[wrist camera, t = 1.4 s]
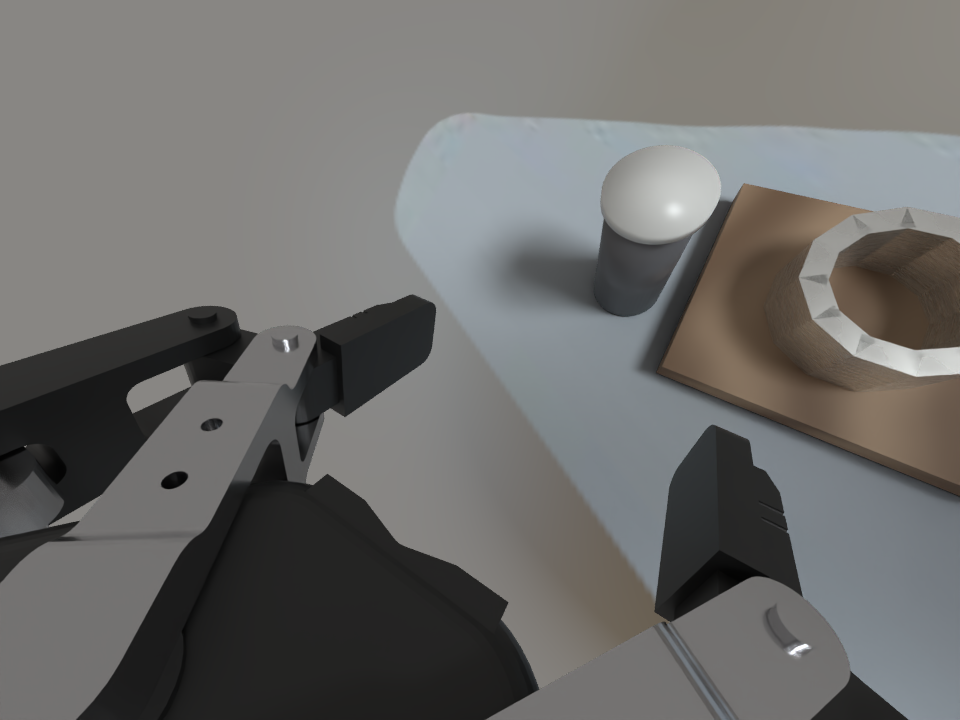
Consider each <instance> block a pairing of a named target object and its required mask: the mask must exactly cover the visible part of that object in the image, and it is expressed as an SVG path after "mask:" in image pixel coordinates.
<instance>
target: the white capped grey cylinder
mask: <svg viewBox="0 0 960 720" xmlns="http://www.w3.org/2000/svg"><path fill="white" fill-rule="evenodd" d="M720 193H721V182H720V178H719V175H718V173H717V171H716V169H715V167H714V166H713V165H712V164H711V163H710V162H709V161H708V160H707V159H706V158H705V157H703V156H702V155H700V154H699V153H697V152H695V151H692V150H690V149H687V148H683V147H679V146H670V145H661V146H652V147H647V148H643V149H640V150H637V151H635V152H633V153H631V154H629V155H627V156H625V157H624V158H622V159H621V160H620V161H618V162H617V163H616V164H615V165H614V166H613V167H612V169H611V170H610V171H609V173H608V174H607V176H606V178H605V180H604V182H603V186H602V192H601V201H600V204H601V211H602V215H603V217H604V222H603V229H602V235H601V242H600V248H599V255H598V261H597V268H596V275H595V281H594V294H595V297H596V299H597V301H598V303H599V304H600V305H601V306H602V307H603V308H604V309H605V310H607V311H609V312H611V313H613V314H616V315H620V316H633V315H638V314H641V313H643V312H645V311H647V310H648V309H649V308H651V307H652V306H653V305H654V304H655V302H656V301H657V299H658V297H659V295H660V293H661V292H662V290H663V288H664V286H665V284H666V282H667V280H668V279H669V277H670V275H671V273H672V271H673V269H674V268H675V266H676V264H677V262H678V260H679V258H680V257H681V255H682V253H683V251H684V249H685V247H686V245H687V244H688V242H689V240H690V238H691V236H692V234H693V233H695V232H696V231H698V230H699V229H700V228H701V227H702V226H703V225H704V224H705V223H706V222H707V220H708V219H709V218H710V216H711V214H712V212H713V211H714V209H715V207H716V205H717V204H718V201H719V198H720Z"/></svg>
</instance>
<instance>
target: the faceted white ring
mask: <svg viewBox="0 0 960 720" xmlns="http://www.w3.org/2000/svg"><path fill="white" fill-rule="evenodd" d="M848 266H858V267H862V268H865V269H869V270H873V271H877V272H881V273H884V274H888V275H891V276H892V277H893V278H895V279H896V280H897V281H898V282H900V283H901V284H902V285H904V286H905V287H906V288H908V289H909V290H910V291H912V292H913V293H914V294H916V295H917V296H918V298H919V301H920V303H921V306H922V308H923V310H924V313H925V315H926V317H927V320H928V322H929V326H928V329H927V332H926V335H925V338H924V341H923V344H922V347H921V350H912V349H909V348H906V347H902V346H899V345H896V344H893V343H890V342H886V341H883V340H880V339H877V338H874V337H870V336H869V335H868V334H867V333H866V332H864V331H863V330H862V329H861V328H860V327H858V326H857V325H856V324H855V323H854V322H852V321H851V320H850V319H849V318H848V317H847V316H845V315H844V314H843V313H842V312H841V311H839V308H838V305H837V302H836V300H835V297H834V294H833V291H832V288H831V285H830V282H829V277H830V275H831V272H832V270H833V268H840V267H848ZM763 308H764V311H765V315H766V318H767V322H768V325H769V329H770V333H771V336H772V340H773V343H774V344H775V345H776V346H777V347H778V348H779V349H781V350H782V351H783V352H784V353H785V354H786V355H787V356H788V357H789V358H790V359H791V360H792V361H793V362H794V363H795V364H796V365H797V366H798V367H799V368H800V369H801V370H803V371H804V372H805V373H806V374H807V375H810V376H813V377H815V378H818V379H821V380H824V381H826V382H829V383H832V384H835V385H838V386H840V387H843V388H846V389H849V390H852V391H854V392H869V391H886V390H904V389H912V388H917V387H921V386H925V385H930V384H934V383H938V382H943V381H947V380H952V379H956V378H960V218H958V217H953V216H949V215H944V214H939V213H934V212H929V211H925V210H920V209H915V208H910V207H903V208H896V209H889V210H882V211H875V212H868V213H861V214H855V215H851V216H850V217H848V218H847V219H845V220H844V221H842V222H841V223H839V224H838V225H836V226H834V227H833V228H831V229H830V230H828V231H827V232H825V233H824V234H822V235H821V236H819V237H818V238H816V239H815V240H813V241H812V242H811V243H810V244H809V245H808V246H807V247H806V248H804V249H803V250H802V251H801V252H800V253H799V254H798V255H797V256H796V257H795V258H794V259H793V260H791V261H790V262H789V263H788V264H787V265H786V266H785V267H784V268H783V269H782V270H781V271H779V272H778V273H777V274H776V276H775V279H774V281H773V284H772V286H771V289H770V291H769V293H768V296H767V298H766V301H765V303H764V306H763Z"/></svg>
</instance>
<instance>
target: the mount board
mask: <svg viewBox="0 0 960 720" xmlns="http://www.w3.org/2000/svg"><path fill="white" fill-rule="evenodd" d="M868 212H874V211H869V210H864V209H860V208H855V207H851V206H846V205H841V204H837V203H832V202H828V201H823V200H818V199H814V198H809V197H805V196H800V195H795V194H791V193H786V192H782V191H777V190H772V189H768V188H763V187H759V186H754V185H749V184H745V183H744V184H743V186H742V187H741V189H740V190H739V192H738V194H737V195H736V197H735V198H734V200H733V203H732V205H731V207H730V209H729V211H728V214H727V216H726V218H725V220H724V223H723V225H722V227H721V229H720V231H719V234H718V236H717V238H716V240H715V243H714V245H713V247H712V249H711V252H710V254H709V256H708V258H707V260H706V263H705V265H704V267H703V269H702V272H701V274H700V276H699V278H698V280H697V283H696V285H695V287H694V289H693V292H692V294H691V296H690V298H689V300H688V303H687V305H686V307H685V309H684V312H683V314H682V316H681V318H680V320H679V323H678V325H677V327H676V329H675V332H674V334H673V336H672V338H671V340H670V343H669V345H668V347H667V349H666V352H665V354H664V356H663V358H662V360H661V363H660V365H659V367H658V369H657V372H656V373H658V374H661V375H663V376H666V377H668V378H671V379H673V380H676V381H678V382H680V383H683V384H685V385H688V386H690V387H693V388H695V389H698V390H700V391H703V392H705V393H707V394H710V395H712V396H715V397H717V398H720V399H722V400H725V401H727V402H730V403H732V404H734V405H737V406H739V407H742V408H744V409H747V410H749V411H752V412H754V413H757V414H759V415H761V416H764V417H766V418H769V419H771V420H774V421H776V422H779V423H781V424H784V425H786V426H788V427H791V428H793V429H796V430H798V431H801V432H803V433H806V434H808V435H811V436H813V437H816V438H818V439H820V440H823V441H825V442H828V443H830V444H833V445H835V446H838V447H840V448H843V449H845V450H847V451H850V452H852V453H855V454H857V455H860V456H862V457H865V458H867V459H870V460H872V461H874V462H877V463H879V464H882V465H884V466H887V467H889V468H892V469H894V470H897V471H899V472H901V473H904V474H906V475H909V476H911V477H914V478H916V479H919V480H921V481H924V482H926V483H928V484H931V485H933V486H936V487H938V488H941V489H943V490H946V491H948V492H951V493H953V494H956V495H958V496H960V378H956V379H952V380H947V381H943V382H938V383H934V384H930V385H925V386H921V387H917V388H912V389H904V390H886V391H869V392H854V391H852V390H849V389H846V388H843V387H840V386H838V385H835V384H832V383H829V382H826V381H824V380H821V379H818V378H815V377H813V376H810V375H807V374H806V373H805V372H804V371H803V370H801V369H800V368H799V367H798V366H797V365H796V364H795V363H794V362H793V361H792V360H791V359H790V358H789V357H788V356H787V355H786V354H785V353H784V352H783V351H782V350H781V349H779V348H778V347H777V346H776V345H775V344H774V343H773V340H772V336H771V333H770V329H769V325H768V322H767V318H766V315H765V311H764V308H763V306H764V303H765V301H766V298H767V296H768V293H769V291H770V289H771V286H772V284H773V281H774V279H775V276H776V274H777V273H778V272H779V271H781V270H782V269H783V268H784V267H785V266H786V265H787V264H788V263H789V262H790V261H791V260H793V259H794V258H795V257H796V256H797V255H798V254H799V253H800V252H801V251H802V250H803V249H804V248H806V247H807V246H808V245H809V244H810V243H811V242H812V241H813V240H815V239H816V238H818V237H819V236H821V235H822V234H824V233H825V232H827V231H828V230H830V229H831V228H833V227H834V226H836V225H838V224H839V223H841V222H842V221H844V220H845V219H847V218H848V217H850V216H851V215H855V214H861V213H868ZM829 282H830V285H831V288H832V291H833V294H834V297H835V300H836V302H837V305H838V308H839V311H841V312H842V313H843V314H844V315H845V316H847V317H848V318H849V319H850V320H851V321H852V322H854V323H855V324H856V325H857V326H858V327H860V328H861V329H862V330H863V331H864V332H866V333H867V334H868V335H869V336H870V337H874V338H877V339H880V340H883V341H886V342H890V343H893V344H896V345H899V346H902V347H906V348H909V349H912V350H921V347H922V344H923V341H924V338H925V335H926V332H927V329H928V326H929V322H928V320H927V317H926V315H925V313H924V310H923V308H922V306H921V303H920V301H919V298H918V296H917V295H916V294H914V293H913V292H912V291H910V290H909V289H908V288H906V287H905V286H904V285H902V284H901V283H900V282H898V281H897V280H896V279H895V278H893V277H892V276H891V275H888V274H884V273H881V272H877V271H873V270H869V269H865V268H862V267H858V266H848V267H840V268H833V270H832V272H831V275H830V277H829Z"/></svg>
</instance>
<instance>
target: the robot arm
mask: <svg viewBox="0 0 960 720" xmlns="http://www.w3.org/2000/svg"><path fill="white" fill-rule="evenodd" d="M435 315H436V307H435V305H434V304H433V303H432V302H429V301H427V300H425V299H422V298H420V297H417V296H415V295H409V296H406V297H404V298H402V299H399V300H397V301H395V302H392V303H387V304H381V305H376V306H374V307H371V308H369V309H366V310H364V312H359V313H357V314H355V315H353V316H352V317H347V318H345V319H343V320H340V321H338V322H335V323H333V324H331V325H328V326H326V327H324V328H321V329H319V330H317V331H314V332H312V331H311V330H308V329H306V328H303V327H299V326H278V327H273V328H270V329H267V330H264V331H262V332H260V333H259V334H257V333H253V332H249V331H245V330H241V329H240V328H239V323H238V320H237V315H236V313H235V312H234V311H232V310H231V309H228V308H224V307H218V306H201V307H194V308H190V309H186V310H182V311H179V312H176V313H173V314H169V315H166V316H163V317H159V318H156V319H153V320H150V321H146V322H143V323H140V324H136V325H133V326H130V327H127V328H123V329H120V330H117V331H113V332H110V333H107V334H104V335H100V336H97V337H93V338H90V339H87V340H84V341H81V342H77V343H74V344H71V345H67V346H64V347H61V348H57V349H54V350H51V351H47V352H44V353H41V354H37V355H34V356H31V357H28V358H24V359H21V360H18V361H15V362H11V363H8V364H5V365H1V366H0V720H908V719H907V718H906V717H904V716H903V715H902V714H901V713H900V712H898V711H897V710H896V709H895V708H894V707H892V706H891V705H890V704H889V703H888V702H886V701H885V700H884V699H883V698H882V697H880V696H879V695H878V694H877V693H876V692H874V691H873V690H872V689H871V688H869V687H868V686H867V685H866V684H865V683H863V682H862V681H861V680H860V679H859V678H858V677H857V676H856V675H854V674H853V673H852V672H851V671H850V664H849V660H848V657H847V654H846V652H845V649H844V647H843V645H842V643H841V641H840V640H839V638H838V636H837V635H836V633H835V632H834V630H833V629H832V627H831V626H830V625H829V623H828V622H827V621H826V620H825V618H824V617H823V616H822V615H821V614H820V613H819V612H818V611H817V610H816V609H815V608H814V607H813V606H812V605H811V604H810V603H809V602H808V601H807V600H805V599H804V598H803V596H802V592H801V587H800V582H799V578H798V573H797V569H796V564H795V560H794V555H793V551H792V546H791V542H790V537H789V534H788V533H786V532H787V530H788V528H787V523H786V519H785V516H783V513H784V510H783V505H782V501H781V496H780V492H779V491H778V489H777V488H776V486H775V485H774V483H773V482H772V480H771V479H770V477H769V476H768V474H767V473H766V471H764V470H762V469H760V468H757V467H755V466H753V460H752V453H751V447H750V442H749V440H748V439H745V438H743V437H741V436H738V435H736V434H734V433H731V432H729V431H727V430H725V429H722V428H720V427H718V426H715V425H711V426H709V427H708V428H707V429H706V430H705V432H704V433H703V434H702V436H701V437H700V438H699V440H698V441H697V442H696V444H695V445H694V446H693V448H692V449H691V450H690V452H689V453H688V455H687V456H686V457H685V459H684V460H683V461H682V463H681V464H680V465H679V467H678V468H677V470H676V472H675V474H674V476H673V478H672V481H671V484H670V488H669V495H668V503H667V512H666V520H665V528H664V537H663V545H662V553H661V562H660V570H659V578H658V587H657V595H656V603H655V613H657V614H659V615H660V616H662V617H663V618H665V619H667V620H668V621H670V622H671V623H669V624H666V623H665V622H661V623H659V624H657V625H655V626H652V627H651V628H649V629H647V630H645V631H643V632H641V633H640V634H638V635H636V636H634V637H633V638H631V639H629V640H627V641H625V642H624V643H622V644H620V645H618V646H616V647H615V648H613V649H611V650H610V651H608V652H606V653H604V654H602V655H600V656H599V657H597V658H595V659H593V660H592V661H590V662H588V663H586V664H584V665H582V666H581V667H579V668H577V669H575V670H574V671H572V672H570V673H568V674H566V675H565V676H563V677H561V678H559V679H557V680H556V681H554V682H552V683H550V684H548V685H547V686H545V687H543V688H541V689H539V687H538V684H537V682H536V679H535V677H534V674H533V671H532V669H531V666H530V664H529V662H528V660H527V658H526V656H525V654H524V653H523V650H522V649H521V647H520V645H519V644H518V642H517V640H516V639H515V637H514V636H513V634H512V633H511V632H510V630H509V629H508V628H507V626H506V625H505V624H504V623H503V621H502V620H501V618H502V616H503V613H504V611H505V609H506V607H507V604H508V602H507V601H506V600H504V599H503V598H502V597H500V596H499V595H497V594H496V593H494V592H493V591H492V590H490V589H489V588H487V587H486V586H485V585H483V584H482V583H480V582H479V581H478V580H476V579H475V578H473V577H472V576H471V575H469V574H468V573H466V572H465V571H464V570H462V569H461V568H459V567H458V566H456V565H454V564H451V563H448V562H446V561H443V560H440V559H438V558H435V557H432V556H429V555H427V554H424V553H421V552H418V551H415V550H413V549H410V548H407V547H405V546H403V545H401V544H399V543H398V542H397V541H396V540H395V539H394V538H393V537H392V535H391V534H390V533H389V531H388V530H387V529H386V528H385V526H384V525H383V523H382V522H381V521H380V519H379V518H378V517H377V516H376V514H375V513H374V512H373V510H372V509H371V508H370V506H369V505H368V504H367V502H366V501H365V500H364V499H362V498H361V497H359V496H358V495H356V494H355V493H354V492H352V491H351V490H350V489H348V488H347V487H345V486H344V485H343V484H341V483H339V482H338V481H337V480H335V479H334V478H333V477H331V476H330V475H328V474H327V475H325V476H324V477H323V478H322V479H320V480H319V481H318V482H317V483H315V484H314V485H310V484H306V477H307V472H308V469H309V466H310V463H311V459H312V456H313V453H314V450H315V446H316V444H317V441H318V437H319V434H320V431H321V428H322V425H323V422H324V412H325V411H326V410H328V409H329V408H331V409H333V410H334V411H336V412H338V413H339V414H341V415H342V416H344V417H346V416H347V415H349V414H350V413H352V412H353V411H354V410H356V409H357V408H359V407H360V406H362V405H363V404H365V403H366V402H367V401H369V400H370V399H372V398H373V397H374V396H376V395H377V394H379V393H381V392H382V391H383V390H385V389H386V388H388V387H389V386H390V385H392V384H394V383H395V382H396V381H398V380H399V379H401V378H402V377H403V376H405V375H407V374H408V373H409V372H411V371H412V370H414V369H415V368H417V367H418V366H419V365H421V364H422V363H424V362H425V360H426V359H427V358H428V356H429V354H430V351H431V349H432V342H433V333H434V325H435ZM183 364H184V366H185V369H186V371H187V374H188V377H189V380H190V383H191V387H189V388H187V389H185V390H183V391H180V392H178V393H176V394H174V395H172V396H170V397H168V398H165V399H163V400H161V401H159V402H157V403H155V404H153V405H150V406H148V407H146V408H144V409H142V410H140V411H138V412H135V413H133V414H132V412H131V410H130V408H129V406H128V404H127V401H126V398H127V394H128V392H129V391H130V390H131V389H132V387H134V386H135V385H136V384H138V383H140V382H142V381H144V380H147V379H149V378H152V377H154V376H156V375H159V374H161V373H164V372H166V371H169V370H171V369H173V368H176V367H178V366H181V365H183ZM26 445H27V446H26ZM24 446H26V448H25V447H24ZM100 495H101V496H100ZM98 496H100V498H99V499H98V500H97V501H96V503H95V504H94V505H93V506H92V507H91V509H90V510H89V511H88V512H87V513H86V515H85V516H84V517H83V518H82V519H81V521H77V522H72V523H67V524H62V525H58V526H53V527H49V525H50V524H52V523H54V522H55V521H57V520H59V519H61V518H62V517H64V516H65V515H67V514H69V513H71V512H72V511H74V510H76V509H78V508H80V507H81V506H83V505H85V504H86V503H88V502H90V501H92V500H93V499H95V498H97V497H98Z"/></svg>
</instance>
